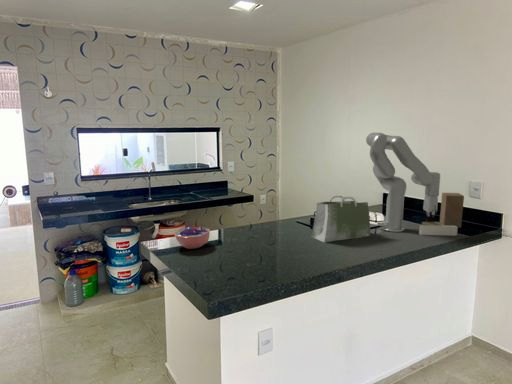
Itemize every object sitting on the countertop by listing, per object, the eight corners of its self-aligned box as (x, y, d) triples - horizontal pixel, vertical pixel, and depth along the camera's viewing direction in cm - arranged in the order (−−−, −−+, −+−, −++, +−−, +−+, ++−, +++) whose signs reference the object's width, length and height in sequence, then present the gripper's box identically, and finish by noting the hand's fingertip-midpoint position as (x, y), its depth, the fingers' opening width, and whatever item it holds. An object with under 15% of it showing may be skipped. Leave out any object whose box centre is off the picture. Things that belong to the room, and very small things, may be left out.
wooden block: (461, 228, 231) (464, 195, 228) (443, 227, 233) (446, 195, 230) (456, 224, 241) (459, 193, 238) (439, 223, 243) (441, 192, 240)
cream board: (420, 234, 216) (421, 226, 215) (418, 233, 219) (419, 225, 218) (456, 235, 215) (457, 227, 214) (454, 234, 218) (455, 225, 217)
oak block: (428, 234, 219) (429, 225, 219) (421, 230, 228) (421, 221, 227) (445, 234, 220) (446, 225, 219) (437, 229, 229) (438, 221, 228)
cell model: (218, 244, 198) (218, 223, 196) (193, 255, 181) (192, 232, 179) (193, 239, 207) (192, 219, 205) (167, 249, 190) (166, 227, 188)
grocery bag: (355, 230, 227) (357, 191, 223) (371, 236, 214) (373, 195, 210) (309, 236, 213) (311, 195, 210) (324, 243, 201) (325, 200, 197)
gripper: (420, 190, 234) (418, 219, 237) (430, 195, 219) (427, 225, 222) (433, 190, 233) (431, 220, 237) (443, 195, 219) (441, 226, 222)
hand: (429, 222), depth 229 cm, fingers closed
